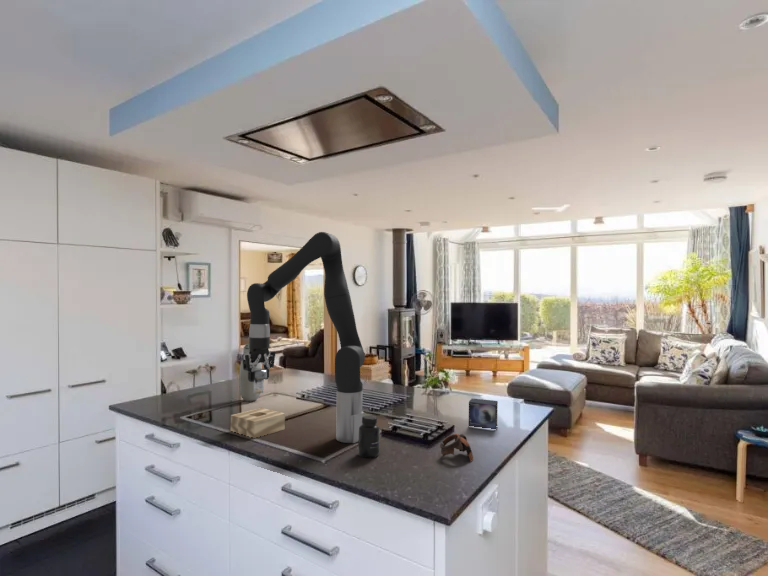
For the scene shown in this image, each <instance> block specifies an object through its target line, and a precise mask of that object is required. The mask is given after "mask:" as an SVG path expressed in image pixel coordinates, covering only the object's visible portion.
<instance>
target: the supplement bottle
mask: <svg viewBox="0 0 768 576" xmlns="http://www.w3.org/2000/svg"><path fill="white" fill-rule="evenodd" d="M362 423H363V424H362V425H361V426H360V427H359V440H358V442H357V443H358V445H357V447H358V448H357V450H358V451H357V452H358V455H359V456H360V457H362V458H363V459H364V458H366V459H372V458H377V457H378V456H379V454H380V443H381V442H380V439H381V437H380V434H381V429H380V426H379V425H378V416H376V415H371V414H369V415H365V416H363V417H362Z"/></svg>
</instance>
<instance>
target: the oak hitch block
mask: <svg viewBox="0 0 768 576" xmlns="http://www.w3.org/2000/svg"><path fill="white" fill-rule="evenodd" d="M285 425H286V413H284V412H281V411H276V410H271V409H268V408H263V407H259V408H255V409H251V410H247V411H246V410H245V411H242V412H238V413H235V414H230V432H231V431H233V432H232V433H234V432H236V433H235V434H237V433H239V434H238V435H241V434H243V435H242V436H244V435H246V436H245V437H247V436H249V437H248V438H251V437H253V438H252V439H254V438H255V439H257V438H256V437H258V438H261V437H264V435H265V436H268V435H271V434H274V433H277V432H281V431H284V430H285V429H286V427H285ZM267 434H268V435H267ZM260 436H261V437H260Z"/></svg>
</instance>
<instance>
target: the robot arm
mask: <svg viewBox="0 0 768 576" xmlns="http://www.w3.org/2000/svg"><path fill="white" fill-rule="evenodd" d="M342 257H343V256H342V248H341V244H340V241H339V239H338V237H336V236H335V235H333V234H332V233H329V232H326V231H319V232H317V233H315V234H313V236H311V237H310V239H309V240H308V241H306V243H305V244H304V245H303V246H302V247H301V248H300V249H299V250H298V251H297V252H296V253H295V254H293V255H292V257H290V258H289V259H288V260H287V261H285V262H284V263H282V264H281V265H280V266H279V267H277V268H276V269H275V270H273V271H272V272H271V273H269V275H268V276H267V280H266V281H264V282H263V283H261V282H258V283H257V282H255V283H252V284H251V285H250V286H248V289H247V291H246V292H247V293H246V300H247V303H248V310H249V313H250V315H249V317H250V318H249V320H250V323H249V330H248V333H249V334H248V337H249V338H248V341H249V342H248V343H249V348H250V352H249V354H246V355H245V354H243V353H242V355H241V357H242V358H241V361H242V360H243V369H244V370H246V371H248V380H249V382H254V370H255V367H256V366H257V364H258V363H260V362H261V364H262V368H263V369H267V378H266V379H265V380H268V379H269V378H270V369H271V368H274V366H275V360H276V359H275V358H276V351H271V350H269V349H270V347H271V346H270V342H271V337H270V336H271V328H270V310H269V309H268V308H266V305H265V302H268V301H270V300H272V299H274V297H276V295H278V293H279V292H280V291H281V290H282V289H283V288H285V287H286V286H288V285H289V284H290V283H291V282H293V281H294V280H295V279H297V277H298V276H299V275H300V274H301V272H302V271H303V270H304V269H305V268H306V267H307V266H308V265H310V264H312V263H313V262H314V261H317V260H319V259H321V262H322V266H323V270H324V288H323V297H324V301H325V307H326V310H327V313H328V316H329V318H330V320H331V322H332V324H333V326H334V329H335V330H336V332H337V334H338V338H339V339H338V340H339V345H340V348H339V349H338V350H337V351H336V353H335V356H334V357H335V358H334V382H335V386H336V414H335V415H336V417H335V419H336V420H335V421H336V422H335V423H336V425H335V427H336V429H335V431H336V432H335V433H336V434H335V435H336V436H335V439H336V440H337V442H339V443H340V442H341V443H347V444H355V443H358V440H359V427H360V426H361V425H362V424H363V423H362V417H363V416H366V415H365V411H363V387H364V386H363V382H362V380H361V368H362V367H363V365H364V363H365V360H366V357H365V351H364V347H363V346H362V341H361V339H360V336H359V333H358V329H357V323H356V319H355V318H356V317H355V311H354V308H353V303H352V299H351V294H350V289H349V287H348V281H347V278H346V274H345V270H344V265H343V258H342ZM250 358H251V359H250ZM249 359H250V362H249ZM253 362H254V363H253Z"/></svg>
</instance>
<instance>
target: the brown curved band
mask: <svg viewBox="0 0 768 576" xmlns="http://www.w3.org/2000/svg"><path fill="white" fill-rule="evenodd" d="M451 441H453V442H451ZM448 443H450V444H448ZM447 444H448V445H447ZM439 447H440V454H441V455H442V456H446V455H453V456H455V449H456V450H458V451H459V452H463V453H465V452H466V456H467V455H468V456H467V457H468V458H469V462H470V461H471V460H472V461H473V460H474V455H473V451H472V448H471V445H470V443H469V442H468V438H467V437H466V435H465V434H463V433H460V434H458V433H453V434H450V435H449V436H447V437H444V439H443V440H442V443H440V444H439ZM472 461H471V462H472Z"/></svg>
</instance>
